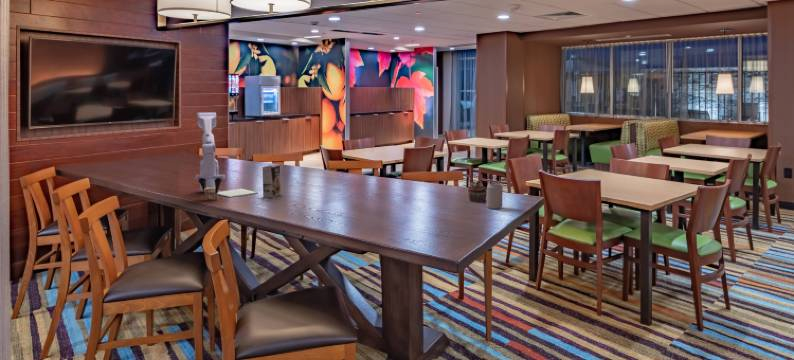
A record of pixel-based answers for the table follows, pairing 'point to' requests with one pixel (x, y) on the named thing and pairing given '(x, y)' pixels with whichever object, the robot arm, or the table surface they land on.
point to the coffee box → (271, 181)
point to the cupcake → (477, 192)
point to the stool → (210, 189)
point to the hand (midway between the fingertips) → (210, 192)
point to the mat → (236, 193)
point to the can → (494, 196)
